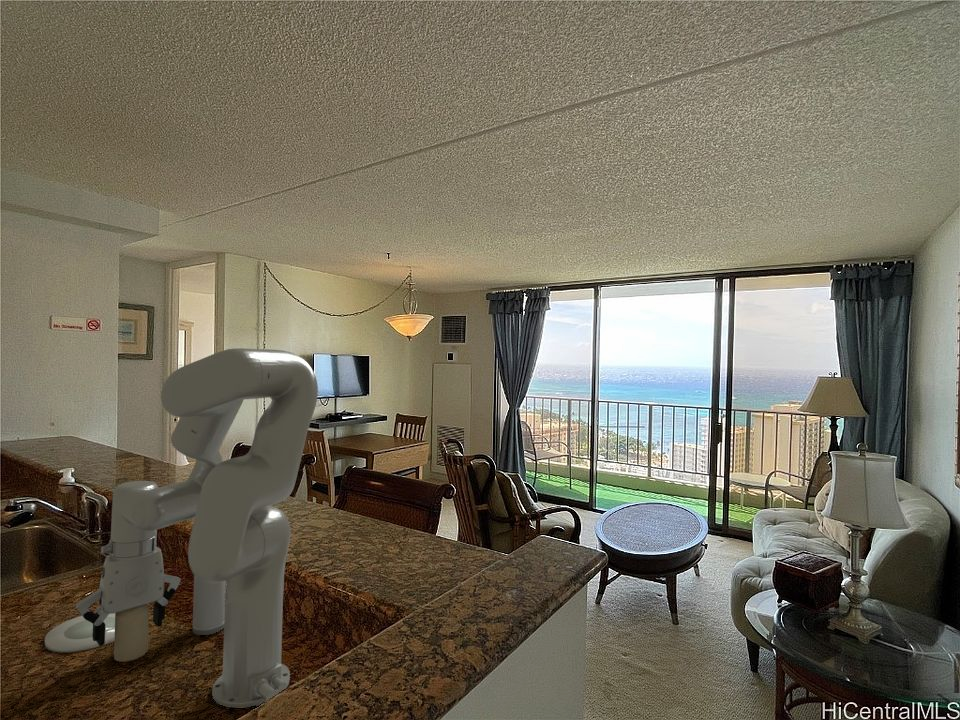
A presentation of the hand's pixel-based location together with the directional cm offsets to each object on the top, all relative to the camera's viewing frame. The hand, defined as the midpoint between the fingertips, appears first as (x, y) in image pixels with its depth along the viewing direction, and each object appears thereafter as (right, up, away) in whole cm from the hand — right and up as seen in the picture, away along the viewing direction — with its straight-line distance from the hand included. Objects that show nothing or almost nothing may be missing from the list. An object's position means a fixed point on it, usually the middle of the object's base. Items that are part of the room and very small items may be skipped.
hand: (129, 633), depth 101 cm
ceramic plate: (-13, -4, +7) cm, 15 cm away
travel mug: (+10, -5, +10) cm, 15 cm away
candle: (0, -4, 0) cm, 4 cm away
